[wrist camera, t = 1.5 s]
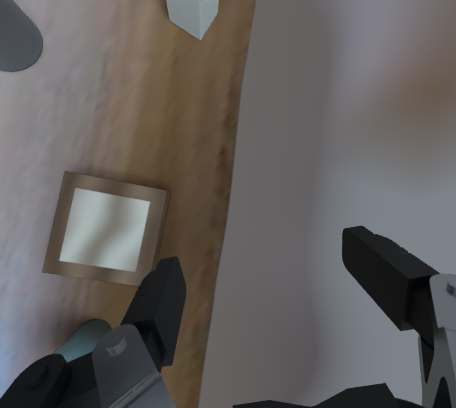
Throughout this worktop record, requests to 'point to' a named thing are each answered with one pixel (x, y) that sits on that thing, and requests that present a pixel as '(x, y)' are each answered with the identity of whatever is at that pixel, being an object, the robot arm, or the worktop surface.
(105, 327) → the blue capped bottle
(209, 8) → the milk
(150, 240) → the plinth
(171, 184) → the worktop surface
